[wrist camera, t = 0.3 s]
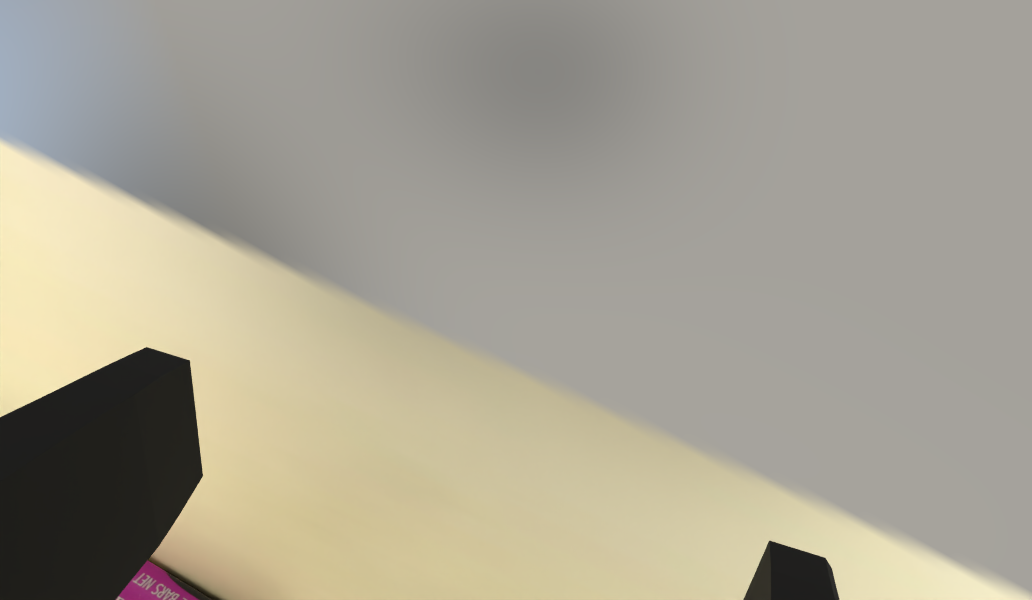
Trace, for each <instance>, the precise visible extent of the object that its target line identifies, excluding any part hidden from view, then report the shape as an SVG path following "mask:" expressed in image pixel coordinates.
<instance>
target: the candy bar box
mask: <svg viewBox="0 0 1032 600" xmlns="http://www.w3.org/2000/svg"><path fill="white" fill-rule="evenodd" d="M116 600H212V599H210V598H209V597H207V596H205V595H204V594H202V593H201V592H199V591H197V590H196V589H194V588H193V587H191V586H189V585H188V584H186V583H184V582H183V581H181V580H179V579H178V578H176V577H174V576H173V575H171V574H169V573H168V572H166V571H164V570H163V569H161V568H160V567H158V566H156V565H155V564H153V563H151V562H150V561H148V560H147V562H146V563H145V564H144V565H143V566H142V568H141V569H140V570H139V571H138V573H137V574H136V575H135V576H134V578H133V579H132V580H131V581H130V582H129V584H128V585H127V586H126V587H125V589H124V590H123V591H122V592H121V594H120V595H119V596H118V597H117V598H116Z"/></svg>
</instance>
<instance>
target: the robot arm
mask: <svg viewBox="0 0 1032 600" xmlns="http://www.w3.org/2000/svg"><path fill="white" fill-rule="evenodd" d="M202 477H203V473H202V464H201V455H200V447H199V438H198V429H197V420H196V411H195V403H194V394H193V385H192V376H191V367H190V361H189V360H186V359H183V358H180V357H176V356H173V355H170V354H167V353H164V352H160V351H157V350H154V349H151V348H147V347H146V348H144V349H142V350H140V351H137V352H135V353H133V354H131V355H128V356H126V357H124V358H122V359H120V360H118V361H115V362H113V363H111V364H109V365H107V366H105V367H103V368H101V369H99V370H97V371H95V372H93V373H91V374H89V375H86V376H84V377H82V378H80V379H78V380H76V381H74V382H72V383H70V384H68V385H66V386H64V387H62V388H60V389H58V390H56V391H54V392H52V393H50V394H48V395H46V396H44V397H42V398H40V399H38V400H35V401H33V402H31V403H29V404H27V405H25V406H23V407H21V408H19V409H17V410H15V411H13V412H10V413H8V414H6V415H4V416H2V417H0V600H116V598H117V597H118V596H119V595H120V594H121V592H122V591H123V590H124V589H125V587H126V586H127V585H128V584H129V582H130V581H131V580H132V579H133V578H134V576H135V575H136V574H137V573H138V571H139V570H140V569H141V568H142V566H143V565H144V564H145V563H146V562H147V560H148V559H149V558H150V556H151V555H152V554H153V553H154V551H155V550H156V549H157V548H158V546H159V545H160V544H161V542H162V540H163V539H164V537H165V536H166V534H167V533H168V531H169V530H170V528H171V527H172V525H173V524H174V522H175V521H176V519H177V518H178V516H179V514H180V513H181V511H182V510H183V508H184V506H185V505H186V503H187V501H188V500H189V498H190V496H191V495H192V493H193V491H194V490H195V488H196V487H197V485H198V483H199V482H200V480H201V478H202ZM744 600H839V596H838V592H837V588H836V584H835V580H834V576H833V572H832V568H831V566H830V565H829V563H828V562H827V560H826V558H824V557H820V556H817V555H814V554H811V553H808V552H804V551H801V550H798V549H795V548H791V547H788V546H785V545H782V544H779V543H775V542H772V541H769V543H768V545H767V547H766V550H765V552H764V554H763V556H762V559H761V561H760V563H759V566H758V568H757V570H756V573H755V575H754V577H753V579H752V582H751V584H750V586H749V589H748V591H747V593H746V595H745V598H744Z"/></svg>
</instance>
